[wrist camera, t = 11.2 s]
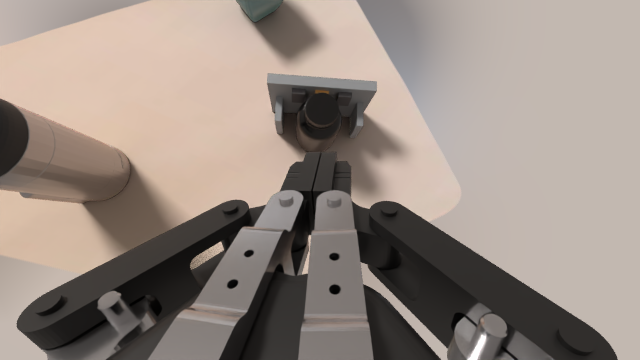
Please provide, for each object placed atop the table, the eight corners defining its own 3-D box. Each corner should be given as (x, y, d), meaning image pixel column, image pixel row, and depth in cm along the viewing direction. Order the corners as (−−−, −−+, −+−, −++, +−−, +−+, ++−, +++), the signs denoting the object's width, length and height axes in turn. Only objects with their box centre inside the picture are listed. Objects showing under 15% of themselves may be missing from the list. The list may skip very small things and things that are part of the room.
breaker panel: (360, 138, 49) (376, 116, 39) (271, 133, 48) (265, 109, 38) (360, 109, 50) (376, 81, 40) (273, 103, 48) (267, 73, 39)
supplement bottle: (288, 138, 48) (285, 110, 36) (311, 110, 49) (316, 74, 37) (318, 162, 48) (326, 141, 36) (341, 133, 49) (356, 104, 37)
